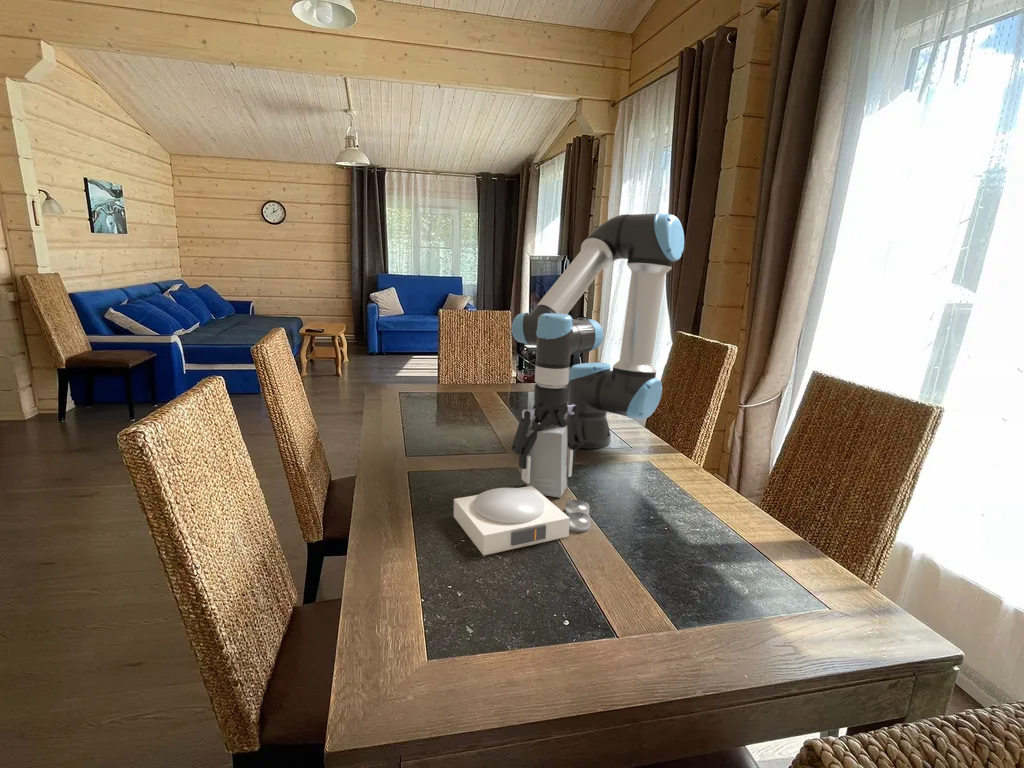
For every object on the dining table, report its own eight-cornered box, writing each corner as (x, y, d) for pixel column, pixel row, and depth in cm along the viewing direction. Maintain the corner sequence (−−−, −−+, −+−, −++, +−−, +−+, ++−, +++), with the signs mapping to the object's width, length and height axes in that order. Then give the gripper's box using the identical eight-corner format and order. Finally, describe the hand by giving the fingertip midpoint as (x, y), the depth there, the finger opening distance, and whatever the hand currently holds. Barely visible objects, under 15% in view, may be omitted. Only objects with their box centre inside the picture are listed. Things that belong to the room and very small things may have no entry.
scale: (530, 502, 120) (531, 481, 119) (570, 538, 106) (571, 514, 105) (453, 516, 113) (453, 494, 111) (484, 557, 98) (485, 532, 97)
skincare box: (567, 488, 128) (571, 424, 125) (559, 500, 122) (563, 433, 118) (532, 482, 131) (535, 419, 127) (523, 494, 124) (526, 428, 121)
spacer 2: (581, 519, 114) (582, 510, 113) (595, 530, 110) (595, 521, 109) (560, 523, 112) (561, 514, 111) (573, 535, 107) (574, 525, 107)
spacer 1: (580, 506, 120) (581, 498, 119) (593, 516, 115) (594, 508, 115) (561, 510, 117) (561, 502, 117) (573, 521, 113) (573, 512, 113)
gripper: (585, 377, 128) (580, 465, 134) (497, 384, 119) (494, 478, 124) (604, 384, 122) (597, 476, 127) (512, 392, 112) (509, 491, 117)
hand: (546, 477), depth 126 cm, fingers closed on skincare box, 10 cm apart
